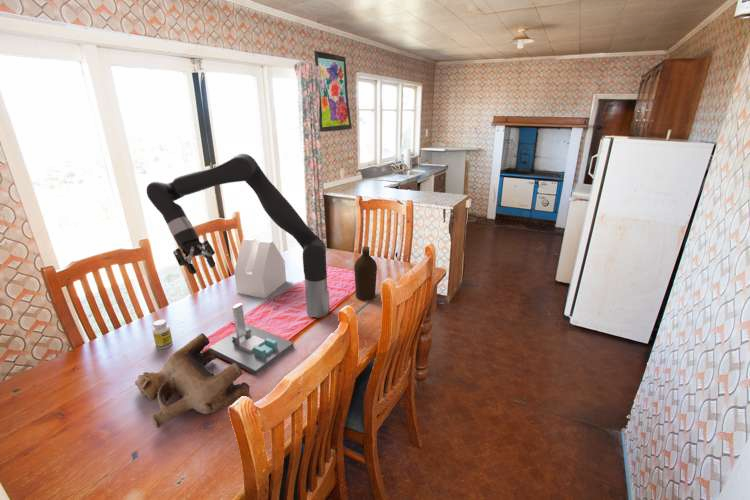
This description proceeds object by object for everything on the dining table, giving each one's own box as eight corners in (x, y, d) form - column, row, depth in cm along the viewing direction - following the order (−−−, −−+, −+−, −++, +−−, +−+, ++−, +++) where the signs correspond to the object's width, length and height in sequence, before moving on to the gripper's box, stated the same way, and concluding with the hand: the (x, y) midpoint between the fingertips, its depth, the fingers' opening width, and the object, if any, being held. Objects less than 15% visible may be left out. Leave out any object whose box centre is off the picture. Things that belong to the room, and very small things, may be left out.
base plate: (248, 328, 144) (247, 316, 142) (293, 347, 133) (292, 334, 131) (209, 351, 130) (207, 339, 128) (256, 375, 118) (254, 361, 117)
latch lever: (244, 333, 134) (239, 303, 129) (246, 334, 133) (242, 304, 129) (237, 337, 131) (232, 306, 127) (239, 338, 131) (234, 307, 126)
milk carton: (264, 298, 168) (259, 248, 159) (237, 293, 172) (230, 244, 163) (286, 281, 185) (282, 235, 176) (260, 277, 189) (255, 232, 180)
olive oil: (363, 303, 164) (363, 253, 155) (350, 295, 172) (349, 246, 163) (381, 297, 170) (382, 248, 161) (367, 289, 178) (367, 242, 169)
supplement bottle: (165, 350, 130) (160, 327, 127) (152, 348, 131) (147, 325, 128) (176, 341, 135) (171, 319, 132) (163, 339, 136) (158, 317, 133)
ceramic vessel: (198, 322, 122) (115, 366, 105) (249, 368, 104) (160, 429, 88) (207, 350, 128) (130, 395, 111) (256, 397, 111) (174, 459, 94)
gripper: (171, 231, 124) (193, 272, 125) (204, 223, 137) (224, 261, 138) (160, 240, 128) (182, 279, 129) (193, 232, 141) (213, 268, 141)
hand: (204, 270), depth 133 cm, fingers open, 8 cm apart
